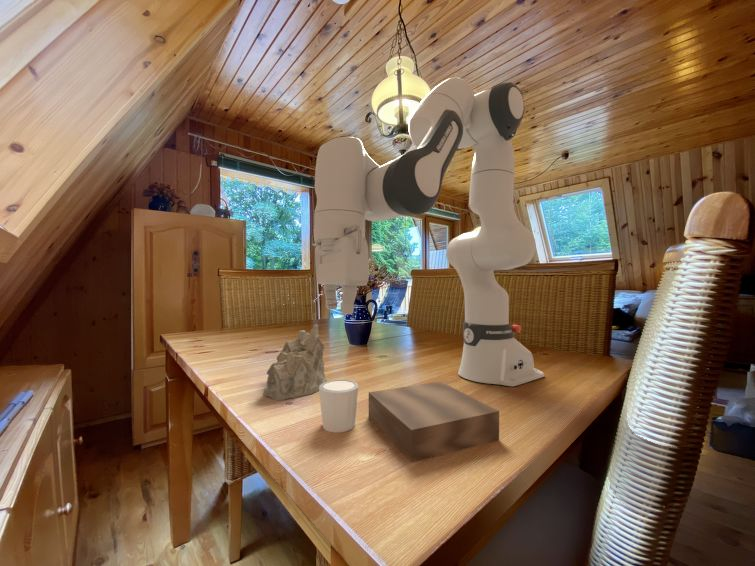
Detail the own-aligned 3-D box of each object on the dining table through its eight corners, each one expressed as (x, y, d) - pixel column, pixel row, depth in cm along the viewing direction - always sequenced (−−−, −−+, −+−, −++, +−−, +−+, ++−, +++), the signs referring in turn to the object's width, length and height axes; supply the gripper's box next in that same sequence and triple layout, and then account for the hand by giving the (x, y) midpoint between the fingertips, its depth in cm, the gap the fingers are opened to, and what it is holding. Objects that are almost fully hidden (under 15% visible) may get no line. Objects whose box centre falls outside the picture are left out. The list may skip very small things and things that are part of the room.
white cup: (352, 436, 51) (352, 393, 51) (312, 432, 52) (312, 390, 52) (362, 418, 58) (362, 380, 58) (327, 414, 59) (327, 377, 59)
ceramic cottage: (304, 371, 87) (302, 317, 86) (339, 388, 75) (337, 326, 74) (247, 387, 76) (243, 326, 75) (277, 411, 64) (274, 339, 63)
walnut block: (440, 405, 65) (440, 381, 65) (499, 442, 50) (499, 411, 50) (368, 419, 58) (368, 392, 58) (411, 465, 44) (411, 429, 44)
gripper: (380, 224, 47) (378, 317, 47) (340, 240, 65) (339, 306, 66) (339, 220, 44) (337, 318, 44) (310, 238, 63) (309, 307, 63)
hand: (338, 311), depth 55 cm, fingers open, 8 cm apart
